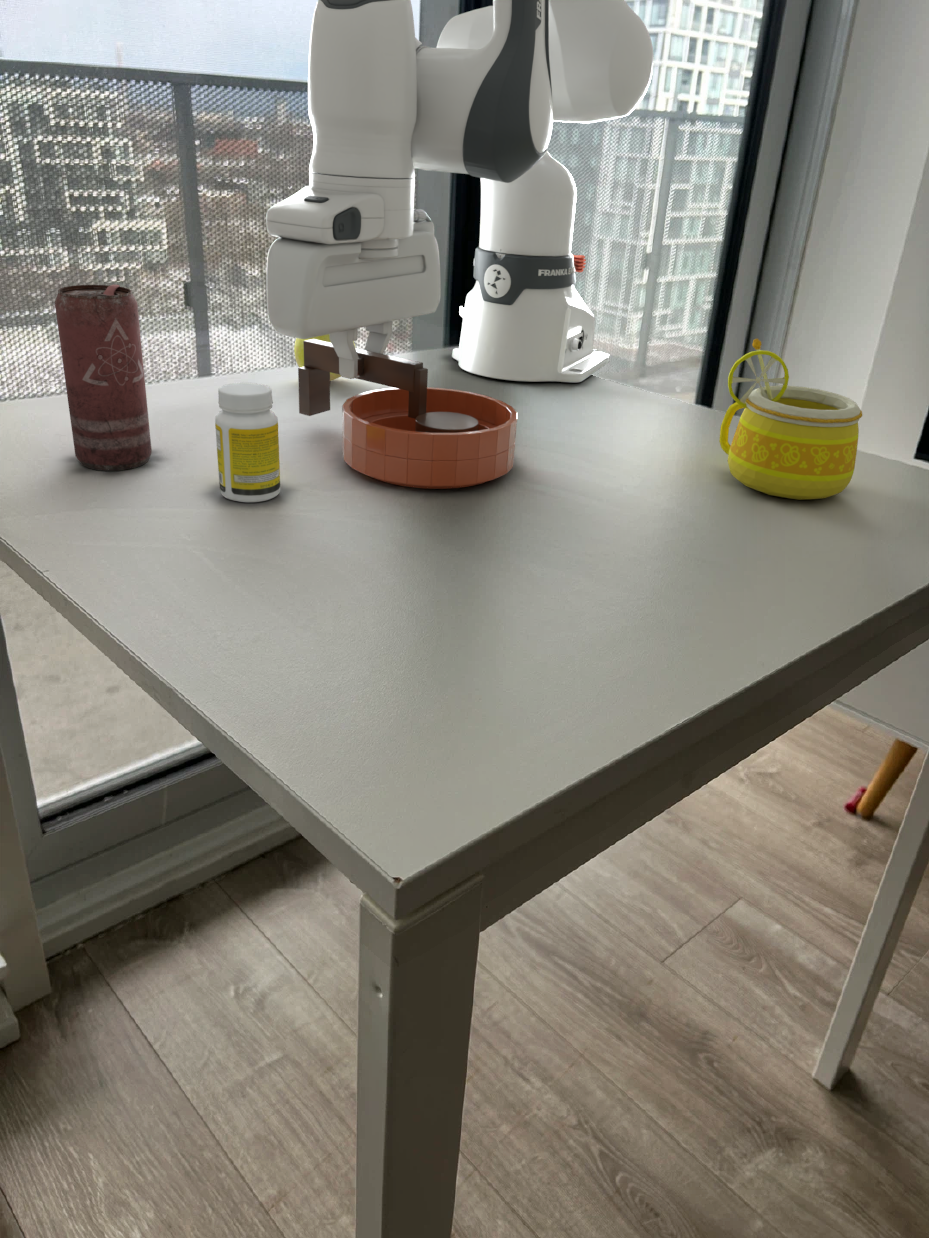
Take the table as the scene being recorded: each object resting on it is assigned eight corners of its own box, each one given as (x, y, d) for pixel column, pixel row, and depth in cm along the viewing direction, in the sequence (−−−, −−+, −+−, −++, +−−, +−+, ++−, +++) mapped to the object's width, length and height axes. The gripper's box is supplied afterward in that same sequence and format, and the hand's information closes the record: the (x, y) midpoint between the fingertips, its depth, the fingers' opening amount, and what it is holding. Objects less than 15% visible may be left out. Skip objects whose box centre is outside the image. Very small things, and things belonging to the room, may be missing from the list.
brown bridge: (488, 446, 85) (494, 371, 82) (453, 460, 81) (458, 382, 78) (328, 405, 94) (327, 335, 91) (289, 416, 90) (287, 343, 87)
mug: (868, 490, 85) (905, 356, 80) (811, 516, 78) (846, 371, 73) (744, 453, 93) (770, 329, 88) (682, 474, 86) (705, 340, 81)
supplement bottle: (293, 493, 76) (290, 389, 72) (250, 508, 72) (244, 400, 68) (250, 479, 78) (245, 377, 74) (207, 493, 75) (199, 387, 71)
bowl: (411, 429, 94) (413, 378, 91) (543, 463, 87) (548, 409, 84) (307, 464, 82) (306, 408, 80) (449, 507, 75) (452, 446, 73)
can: (164, 451, 83) (149, 285, 77) (134, 475, 77) (116, 297, 71) (97, 445, 83) (77, 279, 77) (63, 468, 78) (38, 291, 71)
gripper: (405, 205, 90) (402, 352, 96) (250, 213, 74) (258, 387, 81) (460, 211, 87) (452, 362, 93) (310, 221, 71) (313, 401, 78)
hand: (361, 374), depth 87 cm, fingers closed on brown bridge
